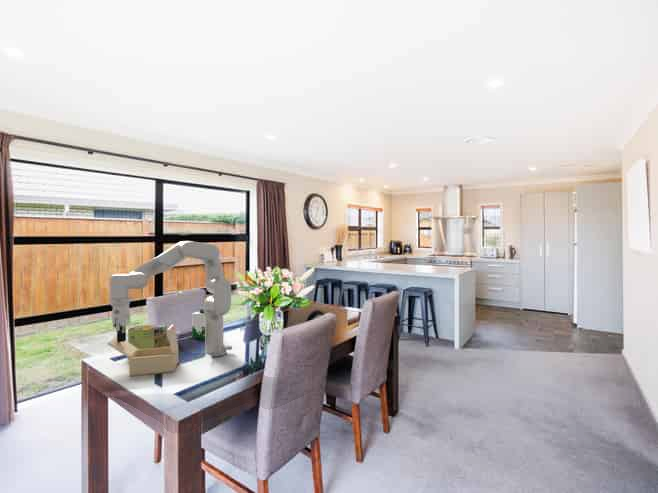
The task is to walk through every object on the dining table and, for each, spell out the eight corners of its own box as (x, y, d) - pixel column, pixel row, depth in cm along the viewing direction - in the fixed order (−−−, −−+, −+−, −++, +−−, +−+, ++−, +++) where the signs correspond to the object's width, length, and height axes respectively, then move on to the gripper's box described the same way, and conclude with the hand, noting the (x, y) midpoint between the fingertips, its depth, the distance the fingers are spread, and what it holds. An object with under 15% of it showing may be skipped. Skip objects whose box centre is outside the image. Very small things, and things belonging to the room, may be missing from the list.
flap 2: (178, 345, 170) (173, 324, 170) (174, 353, 158) (169, 329, 158) (176, 346, 170) (171, 324, 169) (171, 353, 158) (166, 330, 158)
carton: (178, 362, 171) (178, 346, 171) (173, 372, 157) (173, 354, 157) (138, 366, 166) (137, 349, 166) (129, 376, 153) (129, 358, 153)
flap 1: (138, 348, 165) (117, 335, 163) (130, 356, 154) (108, 342, 152) (136, 350, 165) (116, 337, 163) (129, 358, 154) (107, 344, 151)
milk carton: (202, 343, 214) (202, 310, 214) (189, 342, 216) (189, 310, 216) (210, 339, 223) (210, 308, 223) (197, 339, 225) (197, 308, 225)
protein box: (154, 360, 174) (153, 329, 174) (127, 359, 177) (127, 328, 177) (167, 354, 185) (167, 325, 185) (142, 352, 188) (142, 324, 188)
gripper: (124, 303, 152) (125, 345, 152) (133, 298, 166) (135, 336, 167) (105, 304, 150) (106, 346, 150) (116, 299, 164) (117, 337, 165)
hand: (121, 341), depth 158 cm, fingers closed
